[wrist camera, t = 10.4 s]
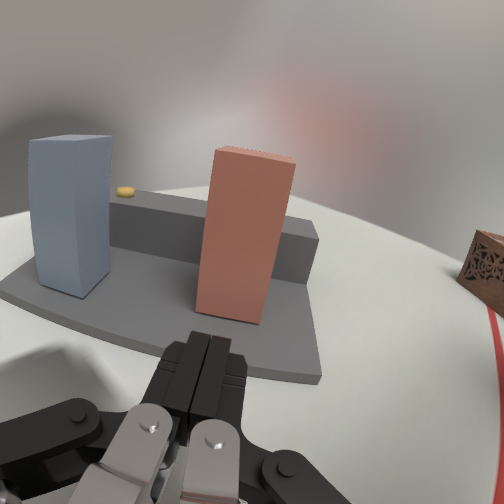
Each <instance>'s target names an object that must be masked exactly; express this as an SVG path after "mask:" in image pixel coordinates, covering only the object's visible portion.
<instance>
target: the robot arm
mask: <svg viewBox="0 0 504 504" xmlns="http://www.w3.org/2000/svg"><path fill="white" fill-rule="evenodd" d="M231 341H232V339H230V338H225V337H220V336H215V335H212V338H211V335H210V334H206V333H201V332H197V331H191V333H190V335H189V338H188V340H187V343H183V342H179V341H174V342H173V343H171V344H170V345H169V346H168V347H166V348H165V350H164V353H163V355H162V357H161V360H160V361H159V363H158V366H157V369H156V370H155V372H154V374H153V377H152V379H151V381H150V383H149V386H148V388H147V390H146V392H145V395H144V397H143V399H142V401H141V402H140V404H139V405H136V406H134V407H133V408H131V409H130V410H129V411H126V412H119V413H116V412H103V411H98V409H97V407H96V406H95V405H94V404H93V403H91V402H90V401H88V400H85V399H82V398H73V399H70V400H67V401H64V402H62V403H59V404H56V405H53V406H50V407H47V408H45V409H42V410H39V411H36V412H33V413H31V414H27V415H24V416H21V417H18V418H15V419H12V420H9V421H5V422H2V423H0V504H22V503H21V501H23V500H26V499H30V498H33V497H36V496H39V495H42V494H46V493H48V492H51V491H54V490H57V489H60V488H62V487H65V486H68V485H70V484H73V483H75V482H78V481H79V483H78V485H77V487H76V489H75V490H74V492H73V494H72V496H71V498H70V499H69V501H68V503H67V504H159V502H160V500H161V497H162V495H163V492H164V489H165V487H166V484H167V482H168V479H169V476H170V474H171V471H172V468H173V466H174V463H175V459H176V456H177V452H178V449H179V445H181V446H185V447H187V443H188V439H189V446H188V447H189V449H188V455H187V461H186V468H185V475H184V481H183V488H182V493H181V496H180V501H179V504H240V502H239V499H238V498H240V499H242V500H244V501H247V502H248V504H351V503H350V502H349V501H348V500H347V499H346V498H345V497H344V496H343V495H342V494H341V493H340V492H339V491H338V490H337V489H335V488H334V487H333V486H332V485H331V484H330V483H329V482H328V481H327V480H326V479H325V478H324V477H323V476H322V475H321V474H320V472H319V471H318V470H317V469H316V468H315V467H314V466H313V465H312V464H311V463H310V462H309V461H308V460H307V459H306V458H305V457H304V456H303V455H301V454H300V453H298V452H295V451H292V450H279V451H275V452H273V453H272V452H270V451H267V450H265V449H262V448H260V447H258V446H256V445H254V444H252V443H251V442H250V441H248V440H247V439H246V437H245V436H244V434H243V433H242V430H241V417H242V409H243V401H244V393H245V385H246V378H247V370H248V365H247V363H246V360H245V358H244V355H240V354H235V353H229V352H230V346H231Z"/></svg>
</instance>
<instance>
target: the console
mask: <svg viewBox="0 0 504 504" xmlns="http://www.w3.org/2000/svg"><path fill="white" fill-rule="evenodd" d="M207 202H208V201H204V200H198V199H192V198H185V197H179V196H173V195H166V194H160V193H153V192H146V191H139V190H134V188H132V187H119V188H117V187H110V198H109V246H110V271H109V272H108V273H107V274H106V275H105V276H104V277H103V278H102V279H101V280H100V281H99V282H98V283H97V284H96V285H95V286H94V288H93V289H92V290H91V291H90V292H89V293H88V294H87V295H86V296H85V297H84V298H80V297H77V296H74V295H71V294H68V293H65V292H62V291H59V290H56V289H53V288H50V287H47V286H45V285H42V284H40V282H39V277H38V272H37V266H36V260H35V256H34V257H33V258H32V259H30V260H29V261H27V262H26V263H24V264H23V265H22V266H20V267H19V268H18V269H16V270H15V271H13V272H12V273H11V274H9V275H8V276H7V277H5V278H4V279H3V280H2V281H0V298H1V299H3V300H6V301H8V302H10V303H12V304H14V305H16V306H18V307H20V308H22V309H25V310H27V311H29V312H31V313H34V314H36V315H38V316H41V317H43V318H45V319H48V320H50V321H53V322H55V323H58V324H60V325H63V326H65V327H68V328H70V329H73V330H76V331H78V332H81V333H84V334H87V335H90V336H92V337H95V338H98V339H101V340H104V341H107V342H110V343H113V344H117V345H120V346H123V347H126V348H130V349H133V350H136V351H140V352H143V353H147V354H150V355H154V356H158V357H162V355H163V353H164V350H165V348H166V347H168V346H169V345H170V344H171V343H173V342H174V341H179V342H183V343H187V340H188V338H189V335H190V333H191V331H197V332H201V333H206V334H210V335H211V338H212V335H215V336H220V337H225V338H230V339H232V341H231V346H230V352H229V353H235V354H240V355H244V358H245V360H246V363H247V365H248V370H247V376H252V377H258V378H265V379H272V380H279V381H287V382H296V383H305V384H315V385H317V384H318V382H319V380H320V378H321V376H322V372H321V366H320V359H319V353H318V347H317V341H316V335H315V329H314V324H313V318H312V313H311V307H310V302H309V296H308V291H307V286H306V284H307V281H308V277H309V274H310V270H311V267H312V264H313V260H314V257H315V253H316V249H317V246H318V242H319V238H318V235H317V233H316V230H315V228H314V226H313V223H312V221H310V220H305V219H300V218H295V217H290V216H285V217H284V222H283V226H282V231H281V235H280V240H279V244H278V249H277V253H276V257H275V262H274V266H273V270H272V275H271V279H270V283H269V287H268V292H267V296H266V300H265V304H264V308H263V313H262V317H261V321H260V324H257V323H252V322H246V321H241V320H235V319H230V318H225V317H220V316H215V315H210V314H205V313H200V312H196V300H197V289H198V279H199V269H200V260H201V251H202V242H203V234H204V225H205V218H206V210H207Z"/></svg>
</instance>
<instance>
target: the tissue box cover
mask: <svg viewBox="0 0 504 504" xmlns="http://www.w3.org/2000/svg"><path fill="white" fill-rule="evenodd" d="M456 282H458V283H459V284H460V285H462V286H463V287H464V288H466V289H467V290H468V291H470V292H471V293H472V294H474V295H475V296H476V297H478V298H479V299H480V300H481V301H483V302H484V303H485V304H486V305H488V306H489V307H490V308H491V309H493V310H494V311H495V312H496V313H498V314H499V315H500V316H501V317H502V318H504V237H503V236H501V235H497V234H493V233H489V232H485V231H480V230H476V233H475V235H474V239H473V241H472V244H471V247H470V249H469V252H468V254H467V257H466V260H465V262H464V265H463V267H462V269H461V272H460V274H459V276H458V279H457V281H456Z"/></svg>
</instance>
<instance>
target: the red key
mask: <svg viewBox="0 0 504 504" xmlns="http://www.w3.org/2000/svg"><path fill="white" fill-rule="evenodd" d="M295 166H296V164H295V162H294V161H293V160H292V158H291V157H286V156H281V155H276V154H271V153H266V152H261V151H255V150H249V149H243V148H236V147H231V146H225V147H222V148H219V149H216V150H215V155H214V161H213V168H212V174H211V181H210V188H209V195H208V202H207V210H206V218H205V225H204V234H203V242H202V251H201V260H200V269H199V279H198V289H197V300H196V312H200V313H205V314H210V315H215V316H220V317H225V318H230V319H235V320H241V321H246V322H252V323H257V324H260V321H261V317H262V313H263V308H264V304H265V300H266V296H267V292H268V287H269V283H270V279H271V275H272V270H273V266H274V262H275V257H276V253H277V249H278V244H279V240H280V235H281V231H282V226H283V222H284V217H285V213H286V208H287V204H288V199H289V194H290V190H291V185H292V180H293V175H294V171H295Z"/></svg>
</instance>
